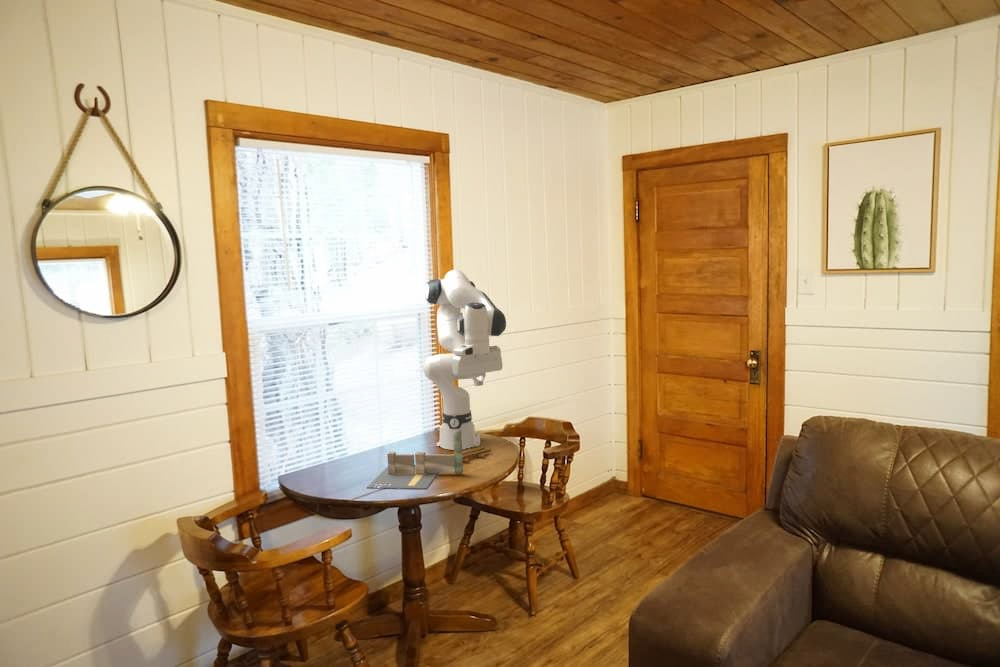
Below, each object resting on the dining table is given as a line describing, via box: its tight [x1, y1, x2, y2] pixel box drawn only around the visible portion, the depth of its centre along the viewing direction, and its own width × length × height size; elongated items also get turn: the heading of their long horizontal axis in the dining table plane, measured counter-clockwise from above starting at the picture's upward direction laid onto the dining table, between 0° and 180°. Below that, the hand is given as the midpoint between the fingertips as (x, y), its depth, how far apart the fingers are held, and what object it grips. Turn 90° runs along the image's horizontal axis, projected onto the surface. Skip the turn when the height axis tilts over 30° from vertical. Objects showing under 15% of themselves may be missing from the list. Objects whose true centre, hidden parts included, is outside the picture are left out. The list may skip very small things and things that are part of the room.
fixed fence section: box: [386, 451, 416, 474], centre depth 242 cm, size 2×9×8 cm, turn 82°
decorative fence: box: [462, 446, 492, 464], centre depth 258 cm, size 25×2×10 cm
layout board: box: [366, 464, 439, 490], centre depth 239 cm, size 26×21×1 cm
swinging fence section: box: [414, 430, 464, 475], centre depth 240 cm, size 3×17×15 cm, turn 82°
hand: (478, 385), depth 243 cm, fingers closed
